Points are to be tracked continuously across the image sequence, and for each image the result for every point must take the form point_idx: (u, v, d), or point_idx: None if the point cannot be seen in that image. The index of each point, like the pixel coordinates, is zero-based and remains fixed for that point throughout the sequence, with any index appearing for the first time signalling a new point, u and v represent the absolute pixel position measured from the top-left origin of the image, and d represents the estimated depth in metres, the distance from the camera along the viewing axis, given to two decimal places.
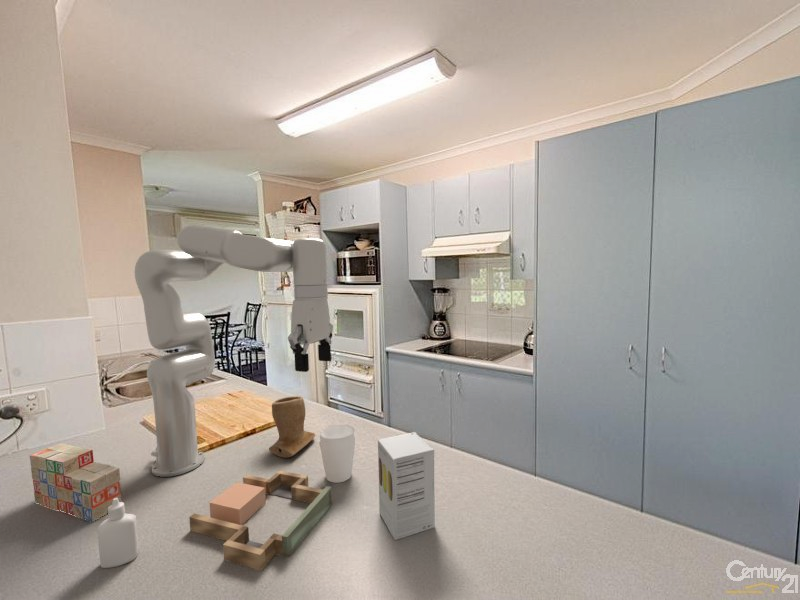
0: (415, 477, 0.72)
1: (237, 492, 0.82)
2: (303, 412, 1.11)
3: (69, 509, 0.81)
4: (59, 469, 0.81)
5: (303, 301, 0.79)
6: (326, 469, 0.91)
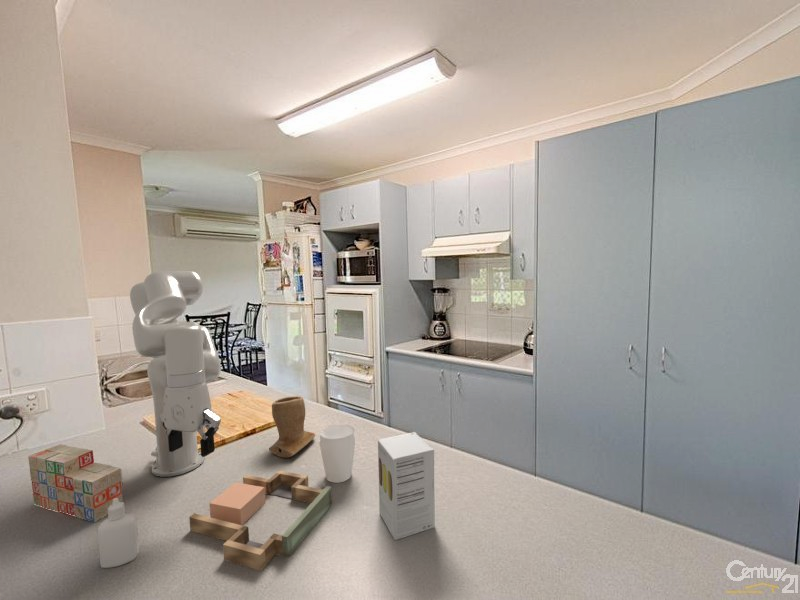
0: (415, 477, 0.72)
1: (237, 492, 0.82)
2: (303, 412, 1.11)
3: (70, 510, 0.81)
4: (59, 470, 0.81)
5: (204, 386, 0.82)
6: (326, 469, 0.91)
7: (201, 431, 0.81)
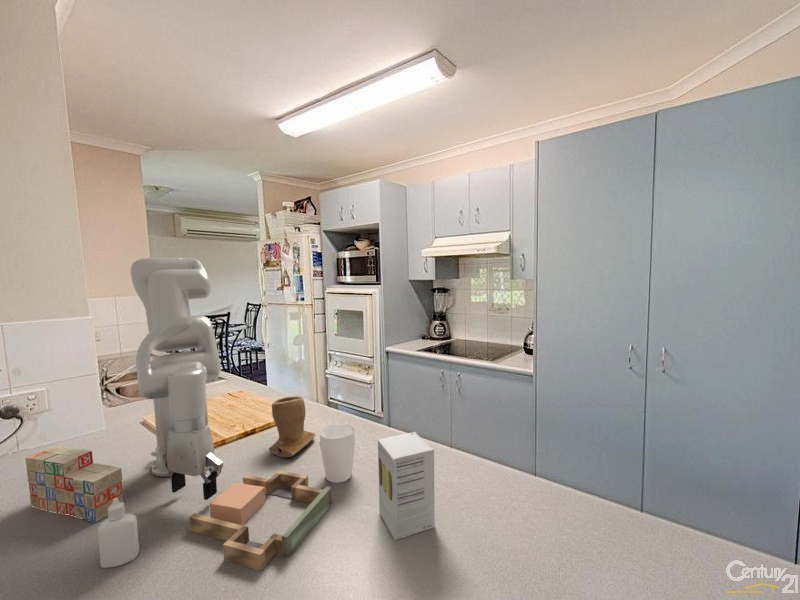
0: (415, 477, 0.72)
1: (237, 492, 0.82)
2: (303, 412, 1.11)
3: (70, 510, 0.80)
4: (59, 471, 0.80)
5: (207, 429, 0.83)
6: (326, 469, 0.91)
7: (204, 475, 0.82)
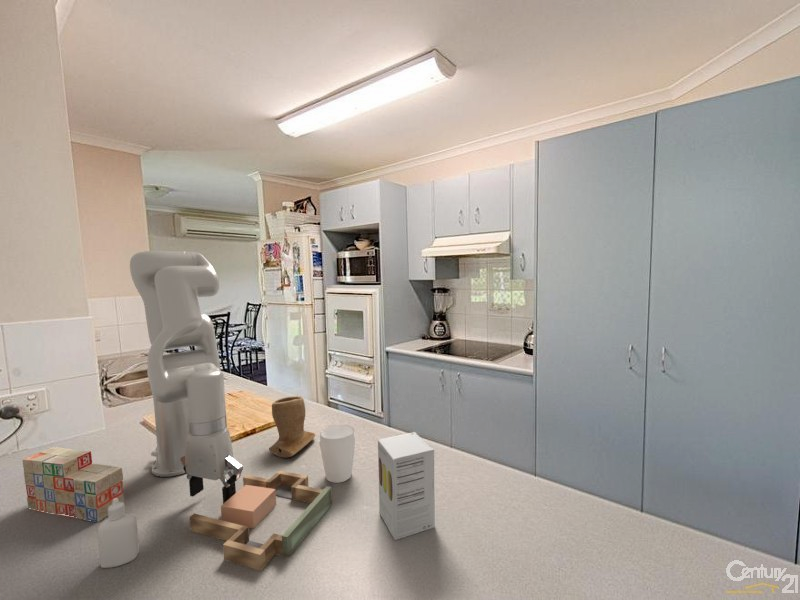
0: (415, 477, 0.72)
1: (248, 494, 0.81)
2: (303, 412, 1.11)
3: (70, 511, 0.80)
4: (58, 471, 0.80)
5: (226, 432, 0.81)
6: (326, 469, 0.91)
7: (223, 479, 0.80)
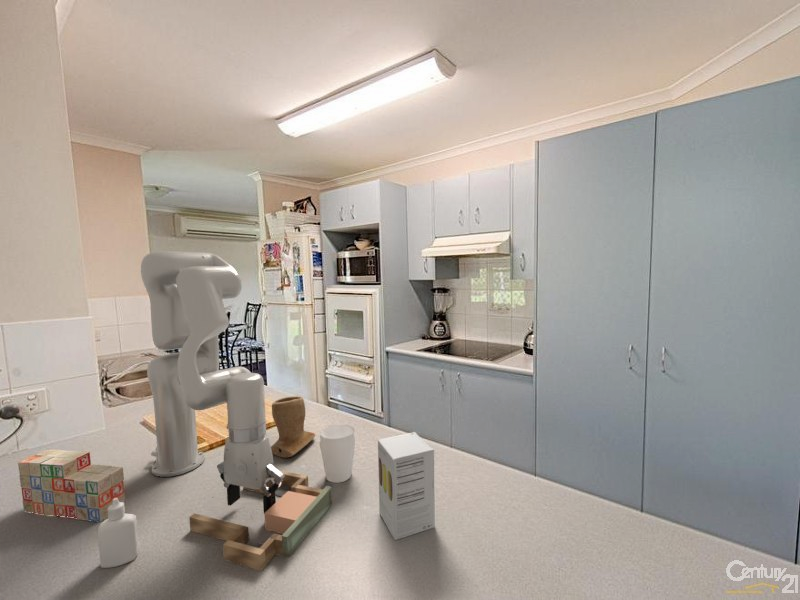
0: (415, 477, 0.72)
1: (291, 502, 0.78)
2: (303, 412, 1.11)
3: (70, 512, 0.80)
4: (57, 473, 0.80)
5: (266, 439, 0.78)
6: (326, 469, 0.91)
7: (264, 488, 0.77)
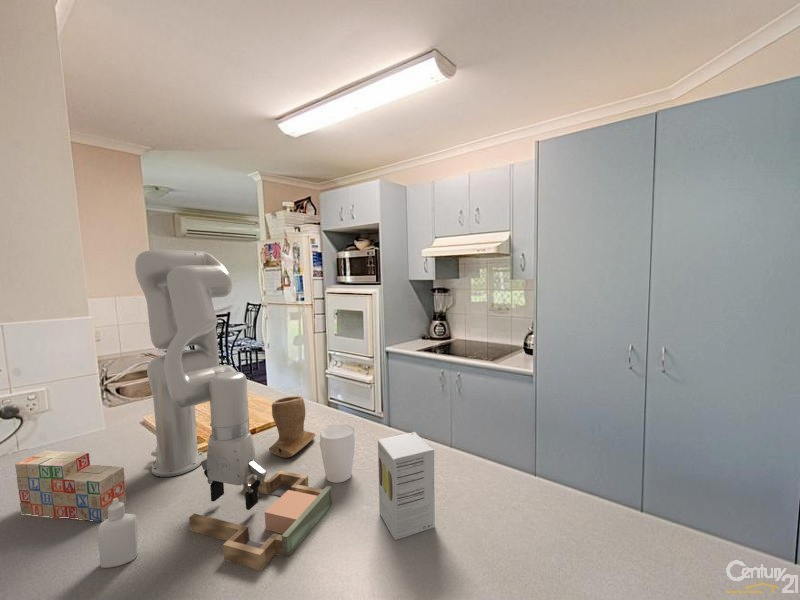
0: (415, 477, 0.72)
1: (292, 501, 0.78)
2: (303, 412, 1.11)
3: (70, 513, 0.80)
4: (57, 474, 0.79)
5: (249, 436, 0.80)
6: (326, 469, 0.91)
7: (246, 484, 0.78)
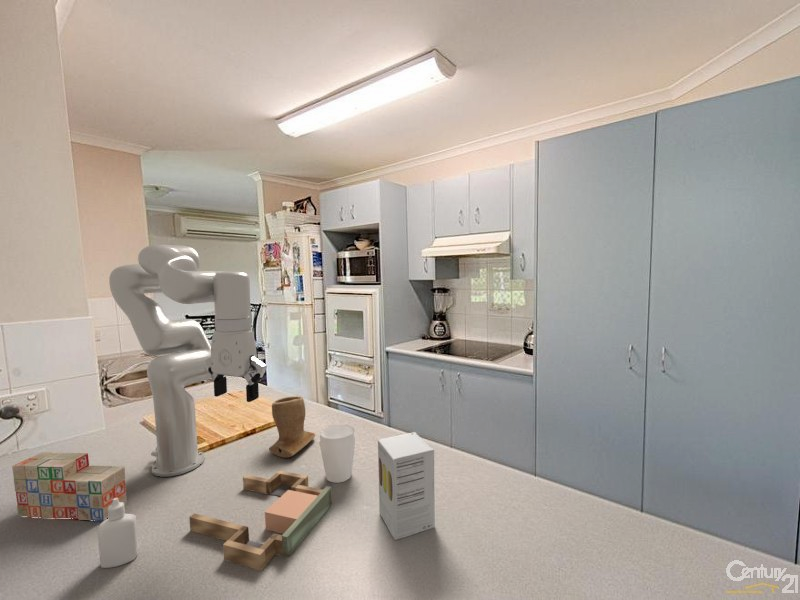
0: (415, 477, 0.72)
1: (292, 500, 0.78)
2: (303, 412, 1.11)
3: (70, 514, 0.79)
4: (57, 475, 0.79)
5: (250, 333, 0.83)
6: (326, 469, 0.91)
7: (247, 377, 0.82)
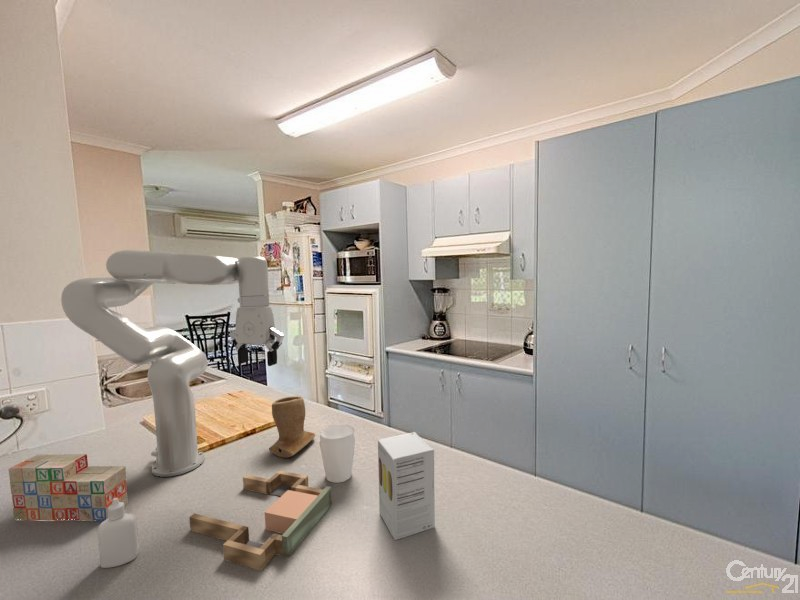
0: (415, 477, 0.72)
1: (291, 501, 0.78)
2: (303, 412, 1.11)
3: (71, 515, 0.79)
4: (57, 476, 0.78)
5: (269, 307, 0.98)
6: (326, 469, 0.91)
7: (268, 344, 0.97)
